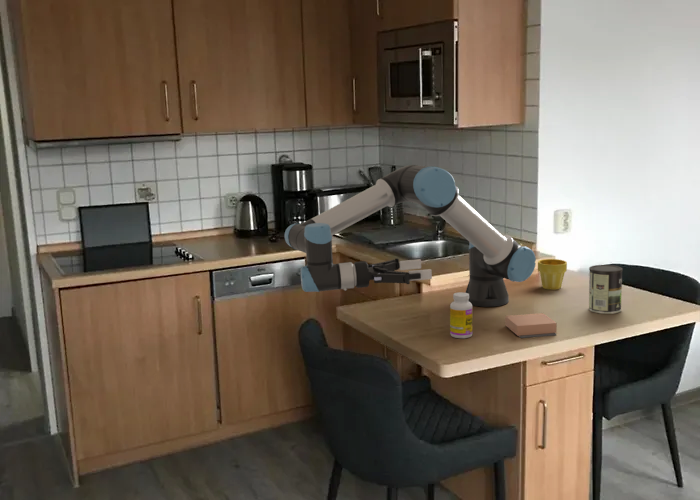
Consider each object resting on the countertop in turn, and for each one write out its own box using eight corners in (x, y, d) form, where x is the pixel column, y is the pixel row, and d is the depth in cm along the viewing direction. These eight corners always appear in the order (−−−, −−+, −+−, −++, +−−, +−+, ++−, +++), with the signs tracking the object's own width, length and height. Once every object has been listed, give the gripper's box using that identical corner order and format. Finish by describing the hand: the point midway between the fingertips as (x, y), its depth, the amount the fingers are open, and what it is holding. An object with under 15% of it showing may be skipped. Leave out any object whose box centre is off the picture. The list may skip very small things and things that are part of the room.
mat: (520, 338, 223) (520, 336, 223) (506, 325, 236) (506, 324, 236) (556, 335, 225) (556, 333, 224) (540, 322, 237) (540, 321, 237)
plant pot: (569, 290, 275) (570, 264, 273) (541, 291, 275) (541, 265, 273) (562, 283, 285) (562, 258, 283) (534, 284, 285) (534, 259, 283)
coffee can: (618, 305, 253) (620, 264, 250) (623, 314, 243) (624, 271, 240) (586, 305, 255) (587, 264, 252) (589, 313, 245) (590, 271, 242)
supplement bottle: (467, 340, 223) (466, 298, 221) (446, 337, 227) (446, 295, 224) (476, 334, 229) (475, 292, 226) (455, 331, 232) (455, 290, 230)
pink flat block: (517, 325, 223) (556, 323, 225) (505, 315, 234) (542, 313, 236) (517, 335, 224) (556, 332, 225) (505, 325, 235) (542, 322, 236)
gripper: (349, 277, 233) (417, 271, 235) (361, 298, 208) (436, 291, 211) (348, 253, 231) (416, 248, 233) (359, 272, 207) (435, 265, 209)
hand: (426, 268), depth 222 cm, fingers open, 13 cm apart
